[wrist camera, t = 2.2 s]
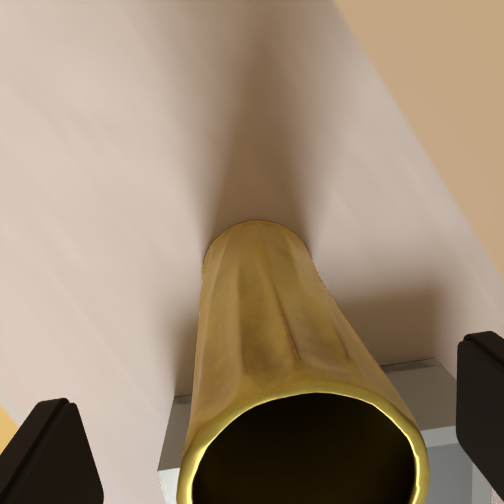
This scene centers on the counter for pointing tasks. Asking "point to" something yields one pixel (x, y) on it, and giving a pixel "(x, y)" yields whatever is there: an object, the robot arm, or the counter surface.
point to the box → (424, 412)
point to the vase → (289, 389)
